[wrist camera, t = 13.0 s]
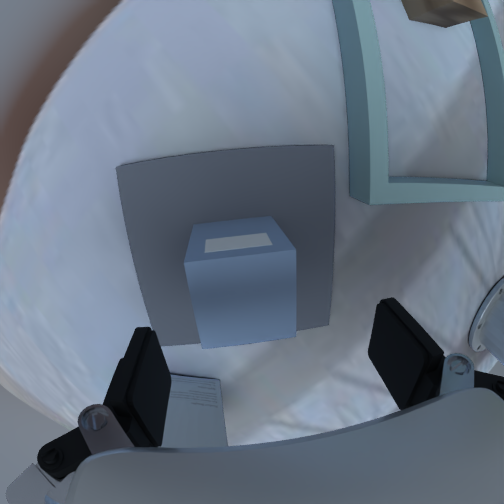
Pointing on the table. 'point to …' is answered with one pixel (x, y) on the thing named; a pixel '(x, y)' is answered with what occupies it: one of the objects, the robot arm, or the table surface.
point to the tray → (375, 115)
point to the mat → (223, 209)
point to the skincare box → (194, 414)
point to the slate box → (241, 282)
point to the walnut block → (444, 11)
